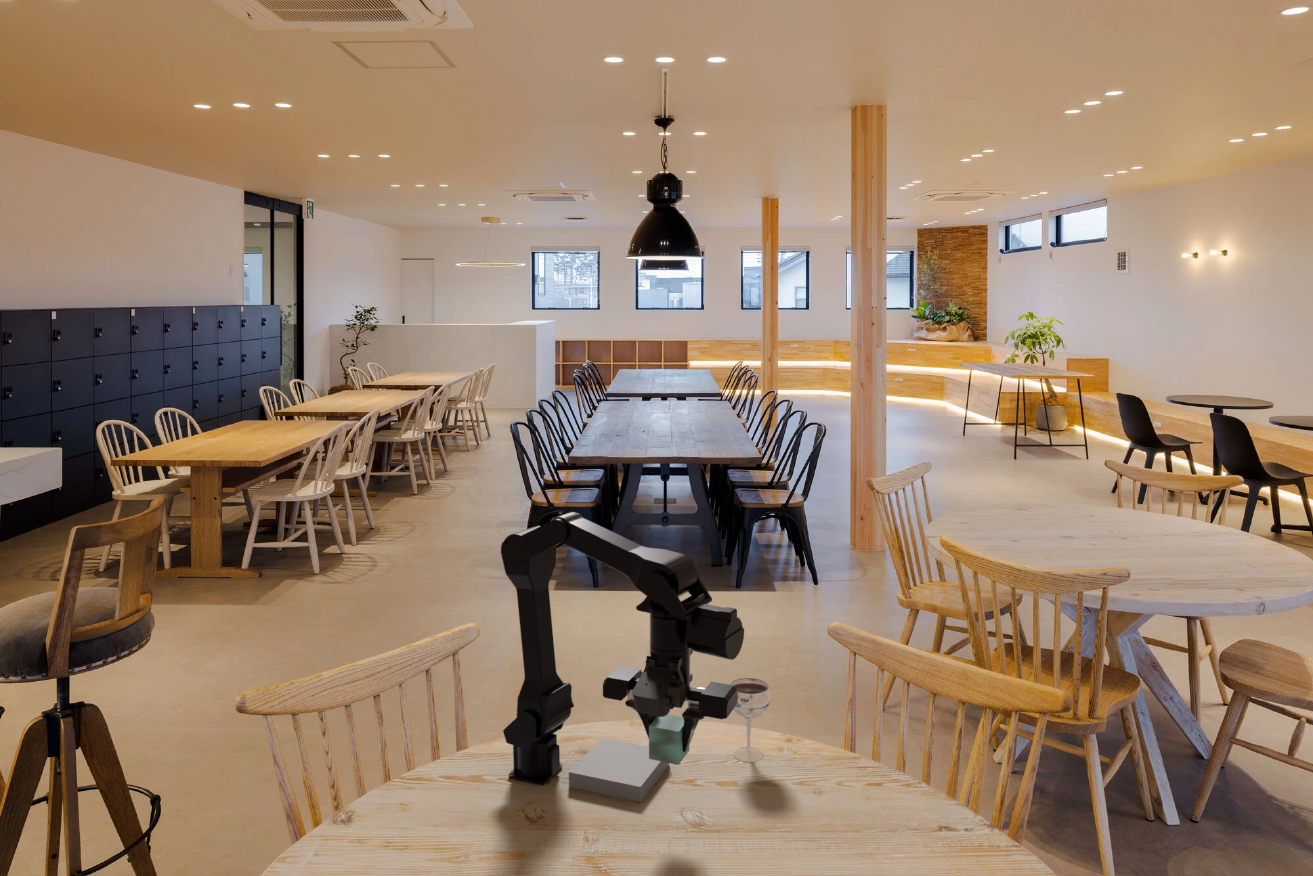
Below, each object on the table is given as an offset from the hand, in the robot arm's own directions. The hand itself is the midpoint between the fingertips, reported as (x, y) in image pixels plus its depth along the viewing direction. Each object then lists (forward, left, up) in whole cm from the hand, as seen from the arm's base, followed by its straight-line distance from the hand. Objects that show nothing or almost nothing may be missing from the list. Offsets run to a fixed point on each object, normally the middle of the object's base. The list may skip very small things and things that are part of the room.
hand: (669, 747), depth 130 cm
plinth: (-11, +8, -11) cm, 18 cm away
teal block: (0, 0, -1) cm, 1 cm away
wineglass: (+6, +22, -11) cm, 25 cm away
